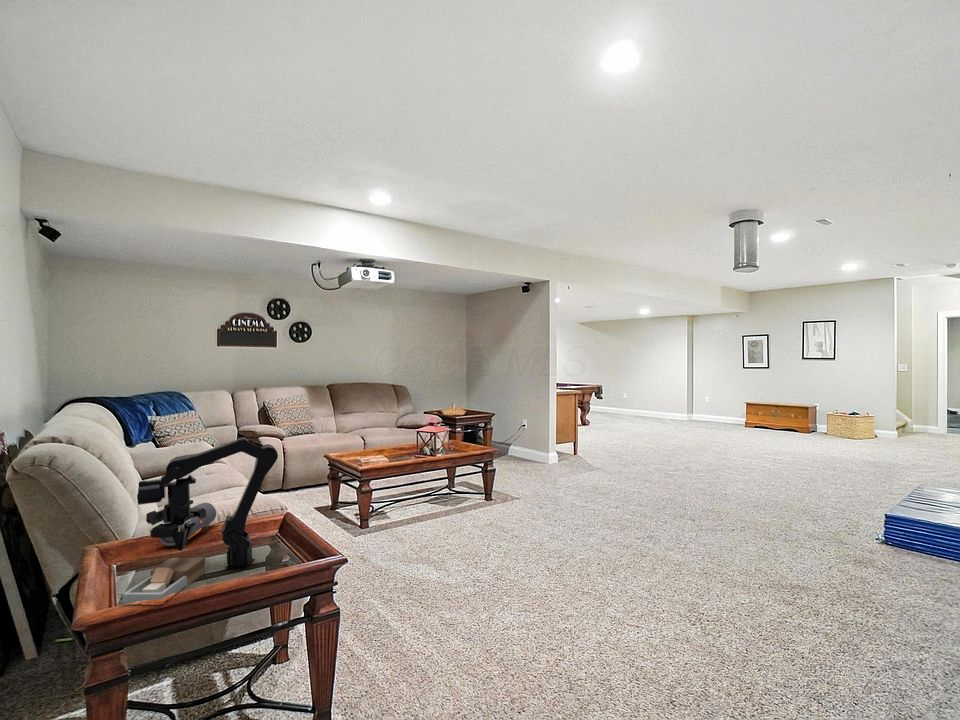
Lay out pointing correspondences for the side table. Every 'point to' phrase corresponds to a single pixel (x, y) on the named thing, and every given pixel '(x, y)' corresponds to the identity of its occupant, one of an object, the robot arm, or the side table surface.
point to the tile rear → (162, 575)
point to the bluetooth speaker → (199, 522)
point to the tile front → (154, 588)
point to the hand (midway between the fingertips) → (180, 550)
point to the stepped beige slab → (183, 568)
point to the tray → (137, 594)
